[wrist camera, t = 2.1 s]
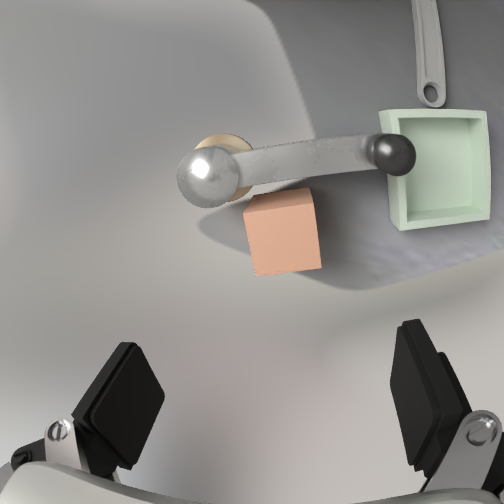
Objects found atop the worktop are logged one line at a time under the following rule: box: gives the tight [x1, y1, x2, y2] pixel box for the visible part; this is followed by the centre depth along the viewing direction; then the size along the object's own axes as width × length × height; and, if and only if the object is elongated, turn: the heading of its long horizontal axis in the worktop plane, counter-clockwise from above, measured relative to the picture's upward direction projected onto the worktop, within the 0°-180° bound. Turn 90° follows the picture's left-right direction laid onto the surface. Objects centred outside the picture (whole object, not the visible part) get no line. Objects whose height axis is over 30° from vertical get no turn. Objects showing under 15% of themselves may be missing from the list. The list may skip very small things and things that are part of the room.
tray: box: [378, 109, 491, 231], centre depth 21 cm, size 10×10×3 cm
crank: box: [177, 133, 416, 208], centre depth 20 cm, size 16×4×7 cm, turn 101°
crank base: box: [195, 134, 253, 202], centre depth 25 cm, size 6×6×1 cm
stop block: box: [243, 187, 322, 276], centre depth 24 cm, size 5×5×6 cm
